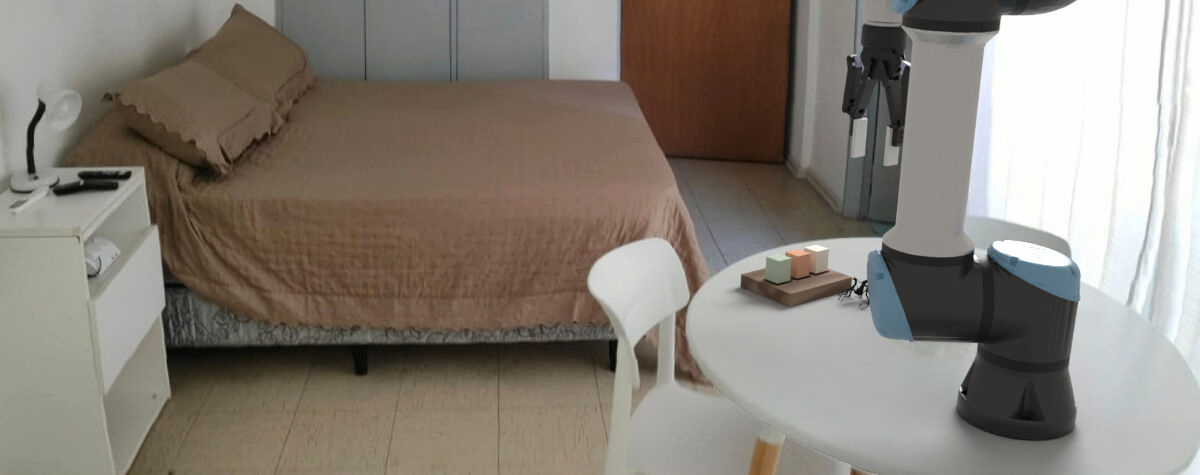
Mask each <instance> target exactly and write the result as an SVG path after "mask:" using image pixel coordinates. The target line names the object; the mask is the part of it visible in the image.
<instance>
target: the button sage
mask: <svg viewBox="0 0 1200 475" xmlns="http://www.w3.org/2000/svg"><path fill="white" fill-rule="evenodd" d="M765 260H766V261H765V263H766V264H765V268H766V273H765V279H767V280H769V281H772V282H775V283H777V284H778V283H782V282H786V281H790V275H791V260H792V258H790V257H787V256H785V254H781V253H776V254H771V255H767V256H766V258H765Z"/></svg>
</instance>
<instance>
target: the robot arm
mask: <svg viewBox="0 0 1200 475" xmlns="http://www.w3.org/2000/svg"><path fill="white" fill-rule="evenodd" d="M1075 2H1077V0H863V6H862V7H863V9H862V20H863V21H865V23H863V24H862V25H861V35H860V46H862V51H861V52H860V53H859V54H851V55H850V54H849V55H847V56H846V58H845V59H846V67H847V70H846V77H845V85H844V91H843V92H844V93H843V99H842V105H841V112H842V113H844V114H847V115H848V116H849V117H850V125H849V126H850V128H849V135H850V137H851V139H852V140H851V149H850V157H851V158H852V159H853V158H854V159H855V158H860V157H865V156H866V145H867V133H868V121H869V120H868V118H866V117H867V115H868V114H866V111H867V108H868V106H869V104H870V101H871V98H872V96H873V92H874V91H875V90H874V89H875V87H876V85H877V83H878V82H879V81H880V82H881V84H882V87H883V88H884V91H885V97H886V103H887V109H888V113H889V115H888V116H889V121H890V125H887V126H886V132H885V143H884V155H883V165H882V166H885V167H890V166H896V165H898V163H899V153H900V152H899V151H900V147H902V151H901V152H902V153H901V162H900V163H901V165H900V174H899V175H900V176H899V185H898V197H897V205H896V206H897V208H896V218H895V224H894V225H893V227H892V228H890V229H888V230H887V232H885V233H884V234H883V236H882V240H881V249H880V250H879V249H877V248H876V249H875V250H870V251H869V253H868V254H867V262H866V280H867V283H866V285H868V293H867V296H868V298H869V302H870V304H869V307H870V313H871V318H872V321H873V327H874V328H875V330H876V332H877V333H878V335H879V336H881V337H883V338H885V339H890V340H898V341H899V340H900V341H908V342H909V343H914V342H927V343H928V342H929V343H930V342H933V343H934V342H935V343H958V344H959V343H961V344H962V343H963V344H977V347H976V354H975V356H974V359H973V361H972V363H971V365H970V366H969V368H968V371H967V372H966V374H965V376H964V379H963V380H962V382H961V384H960V387H959V389H958V393H957V400H956V410H957V412H958V414H959V415H960V416H961V417H962V418H963V419H964V420H965V421H966V422H968V423H969V424H971V425H973V426H975V427H977V428H979V429H981V430H983V431H986V432H989V433H992V434H996V435H999V436H1003V437H1008V438H1014V439H1020V440H1021V439H1023V440H1032V441H1033V440H1035V441H1036V440H1037V441H1038V440H1050V439H1051V440H1052V439H1056V438H1060V437H1063V436H1065V435H1067V434H1069V433H1071V432H1072V431H1073V430H1074V428H1075V426H1076V419H1077V412H1078V410H1077V408H1078V406H1077V402H1076V400H1075V395H1074V389H1073V383H1072V380H1071V374H1070V371H1069V370H1070V368H1069V367H1070V360H1071V359H1070V358H1071V354H1072V353H1071V352H1072V347H1073V346H1072V345H1073V339H1074V333H1075V326H1076V318H1077V313H1078V308H1079V306H1078V305H1079V302H1081V301H1080V300H1081V294H1080V293H1081V292H1080V291H1081V278H1082V276H1081V275H1082V274H1081V269H1080V267H1079V265H1078V264H1077V263H1076V262H1075V261H1074V260H1073V259H1072V258H1071V257H1069V256H1067V255H1065V254H1063V253H1062V252H1059V251H1056V250H1054V249H1052V248H1048V247H1046V246H1042V245H1038V244H1034V243H1029V242H1025V241H1019V240H1009V239H1008V240H1007V239H1005V240H1004V239H1003V240H995V241H993V242H992V243H990V244H989V247H988V248H987V250H986V254H975V249H976V248H975V246H976V245H975V242H974V241H973V240H972V238H970V236H969V235H968V234H967V233H966V232H965V228H966V217H967V208H968V199H969V190H970V182H971V181H970V180H971V172H972V162H973V154H974V145H975V136H976V127H977V117H978V110H979V109H978V108H979V99H980V92H981V91H980V90H981V80H982V72H983V65H984V64H983V63H984V62H983V61H984V54H985V47H986V44H987V43H988V42H989V41H990V40H992V39H993V38H994V37H995V36H997V35H998V34H999V33H1000V29H1001V20H1002V17H1003V16H1022V17H1023V16H1036V15H1043V14H1048V13H1052V12H1056V11H1058V10H1060V9H1064V8H1066V7H1068V6H1070V5H1072V4H1073V3H1075ZM909 38H910V39H911V42H912V44H911V56H910V62H909V61H907V59H906V55H905V51H906V48H907V47H908V45H909V44H908V43H909Z"/></svg>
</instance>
